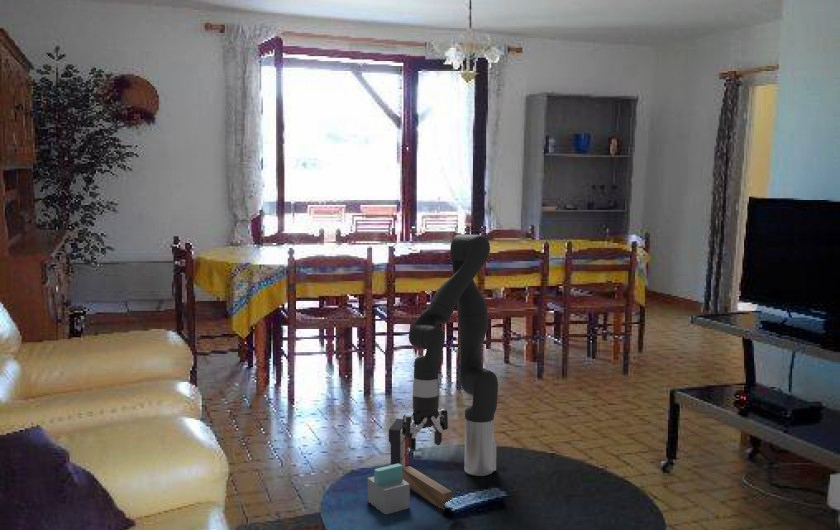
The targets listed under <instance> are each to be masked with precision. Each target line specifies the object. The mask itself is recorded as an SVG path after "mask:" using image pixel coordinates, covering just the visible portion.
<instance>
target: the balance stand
mask: <svg viewBox="0 0 840 530" xmlns="http://www.w3.org/2000/svg"><path fill="white" fill-rule="evenodd" d="M373 471H374V473H373V476H369V477H367V502H368V503H369V504H370V503H371V504H370V505H372V507H374V506H375V507H376V509H377V510H378V511H379V510H380V511H379V512H381V513H382V514H383V513H384V514H386V515H389V514H394V513H396V512H397V513H398V512H401V511H403V510H408V509H410V508H411V507H410V506H411V504H410V503H411V499H410V497H411V495H410V494H411V491H410V490H411V489H410V484H409V483H407V482H406V481H404V480H403V479H402V465H401V464H399V463H398V464H394V465H391V464H390V465H386V466H381V467H376V468H374V469H373ZM375 507H374V508H375ZM384 514H383V515H384Z"/></svg>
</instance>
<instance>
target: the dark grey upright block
mask: <svg viewBox="0 0 840 530" xmlns="http://www.w3.org/2000/svg"><path fill="white" fill-rule="evenodd" d="M402 426H403V418H396V419H395V421H394V422H393V423H392V425H391V426H390V427H389V429H388V442H389V444H390V465H394V464H398V463H399V464H401V465H402V468H404V467H408V466H409V462H410V460H409V458H410V457H409V456H410V454H409V453H410V452H409V451H410V448H409V447H408V437H406V436H404V435H402Z"/></svg>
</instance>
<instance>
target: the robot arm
mask: <svg viewBox="0 0 840 530" xmlns="http://www.w3.org/2000/svg"><path fill="white" fill-rule="evenodd" d="M449 248H450V260H451V266H452V272H453V275H452V276H450V277H449V278H448V279H447V280H446V281H445V282H444V283H442V284H441V285H440V287H439V288H438V289H437V291H436V292H435V294H434V295H433V297H432V299H431V301H430V303H429V305H428V307H427V308H426V310H424V311H423V312H422V313H421V314H420V315H419V317H418V318H417V319H416V320H415V321H414V322H413V323H412V325H411V326H410V329H409V331H408V341H409V343H410V345H411V346H412V347H415V348H419V349H424V350H425V355H420V356H417V357H416V358H415V359H414V361H413V381H412V382H413V383H412V411H413V412H412V414H409V415H407V414H403V416H402V419H403V426H402V435H404V436H406V437H408V447H409V450H410V451H416V450H417V448H416V446H417V445H416V444H417V440H416V439H417V437H416V436H417V434H418V433H420V432H421V430H423V429H426V428H432V427H433V429H434V440H433V441H434V445H436V446H441V443H442V440H443V439H442V438H443V431H446V430H448V428H449V424H448V423H449V421H448V410H447V409H445V408H443V407H440V408H439V406H440V405H439V403H440V402H439V401H440V400H439V399H440V397H439V396H440V392H439V391H440V383H439V365H440V364H439V362H440V360H441V356H442V353H443V349H444V345H445V342H446V341H445V340H446V336H445V332H444V330H443V329H442V327H440V326H437V325H440V324H441V325H442V324H446V323H448V321H449V320H450V318H451V317H452V315H453V312H454V310H455V308H456V306H457V319H458V321H457V322H458V329H459V330H458V331H459V347H460V364H459V366H460V367H459V368H460V369H459V373H460V374H459V381H460V382H459V383H460V386H461V389H462V390H463V391H464V392H465V393H466V394H468V395H471V396H472V405H469V406H467V407H466V408H465V409H464V460H463V461H464V465H463V466H464V467H463V469H464V472H465V473H466V474H468V475H471V476H476V477H485V476H488V475H491V474H492V473H494V472H495V471H497V441H496V440H495V437H494V436H495V414H496V411H497V407H498V396H499V381H498V377H497V375H496V373H495V372H493V371H492V370H489V369H487V368H484V367H483V363H482V354H481V353H482V345H483V342H484V340H485V338H486V335H487V332H488V328H489V313H488V306H487V303H486V300H485V298H484V296H483V295H482V293H481V291H480V290H479V288H478V286H477V284H476V283H475V280H474V279H475V278H476V276H477V274H478V273H479V271H480V270H481V269H482V267H483V266H484V265H485V263H486V262H487V260H488V258H489V256H490V252H491V245H490V241H489V239H488V237H486V236H485V235H480V234H457V235H455V236H454V237H453V238H452V240H451V242H450V247H449ZM438 417H439V422H438V420H437V419H438Z"/></svg>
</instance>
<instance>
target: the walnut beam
mask: <svg viewBox="0 0 840 530" xmlns="http://www.w3.org/2000/svg"><path fill="white" fill-rule="evenodd" d="M402 479H403V480H404V481H406V482H407V483H409V484H410V490H411V491H413V492H414V493H416V494H418V495H419V496H420V497H422V498H424V499H425V500H427V502H430V503H431V504H432V505H434V506H436V507H437V506H438V507H437V508H439V509H440V508H442V509H443V507H444V504H445V503H446V502H448V501H450V500H452V499H453V497H452V496H453V492H452V490H450V489H449V488H446V487H445V486H444V485H442V484H440V483H439V482H437V481H435V480H434V479H432V478H430V477H429V476H428V475H425V474H424V473H422V472H420V471H419V470H417V469H415V468H414V467H412V466H410V465H407V467H404V468H402ZM442 509H441V510H442Z"/></svg>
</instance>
